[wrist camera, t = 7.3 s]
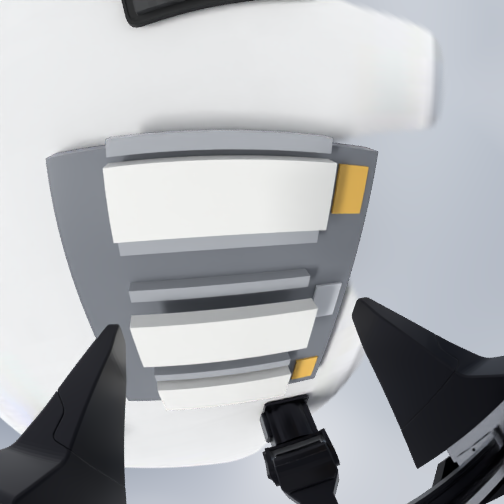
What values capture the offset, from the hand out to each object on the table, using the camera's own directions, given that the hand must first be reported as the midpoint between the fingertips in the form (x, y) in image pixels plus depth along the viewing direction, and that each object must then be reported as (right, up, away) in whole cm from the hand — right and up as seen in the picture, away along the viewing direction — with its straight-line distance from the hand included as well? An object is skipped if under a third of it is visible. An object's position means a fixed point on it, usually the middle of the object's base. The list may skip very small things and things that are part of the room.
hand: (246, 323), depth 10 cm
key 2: (-1, +6, +6) cm, 8 cm away
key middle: (-2, -4, +10) cm, 11 cm away
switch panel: (-3, -2, +13) cm, 14 cm away
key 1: (-3, -11, +16) cm, 20 cm away
